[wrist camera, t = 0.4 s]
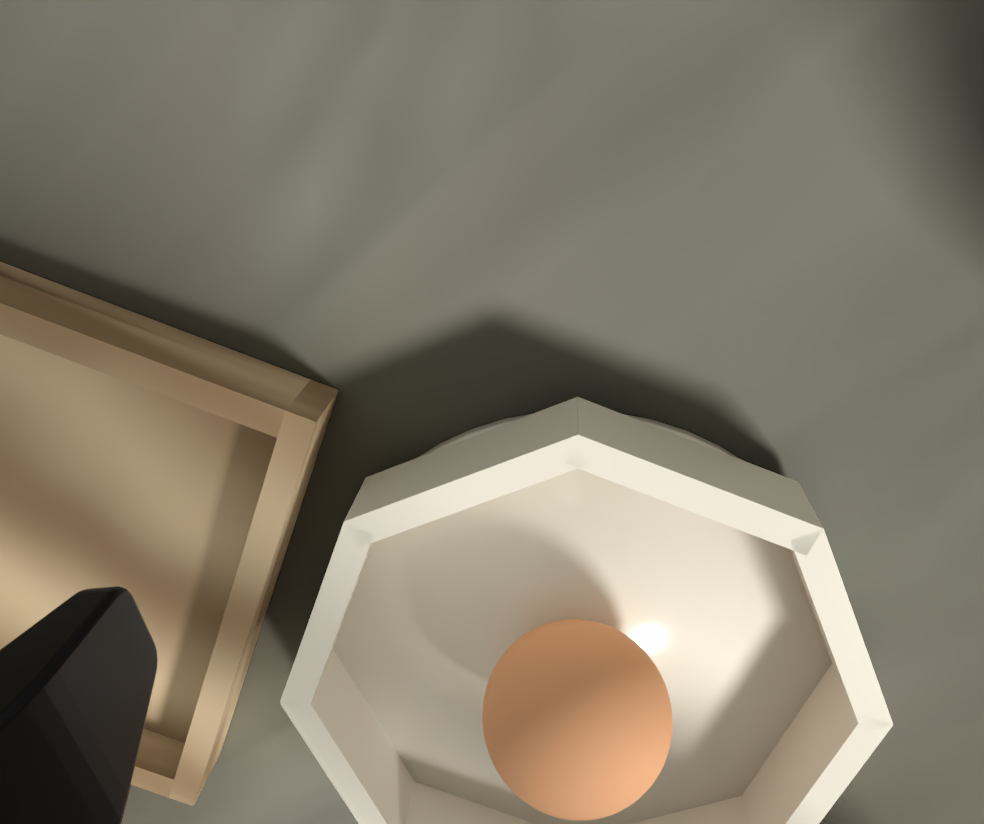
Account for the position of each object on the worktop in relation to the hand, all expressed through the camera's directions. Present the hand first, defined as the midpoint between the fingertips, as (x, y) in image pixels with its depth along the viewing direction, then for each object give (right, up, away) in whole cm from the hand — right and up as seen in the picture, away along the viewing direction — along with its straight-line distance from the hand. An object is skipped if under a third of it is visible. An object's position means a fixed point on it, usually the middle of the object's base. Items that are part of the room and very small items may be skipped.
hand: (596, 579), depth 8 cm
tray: (-14, -1, +17) cm, 22 cm away
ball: (+1, -6, +17) cm, 18 cm away
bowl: (+2, -5, +17) cm, 18 cm away
